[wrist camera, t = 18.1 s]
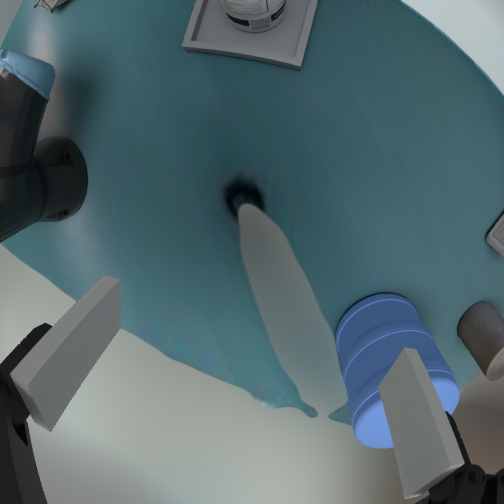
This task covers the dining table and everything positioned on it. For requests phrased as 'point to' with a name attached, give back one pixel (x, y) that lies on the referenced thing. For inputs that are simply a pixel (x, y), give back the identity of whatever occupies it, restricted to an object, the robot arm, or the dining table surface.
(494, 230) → the digital clock
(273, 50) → the tray
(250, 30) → the supplement can
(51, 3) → the game die
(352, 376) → the water jug
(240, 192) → the dining table surface
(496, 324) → the pillar candle
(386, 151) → the dining table surface
